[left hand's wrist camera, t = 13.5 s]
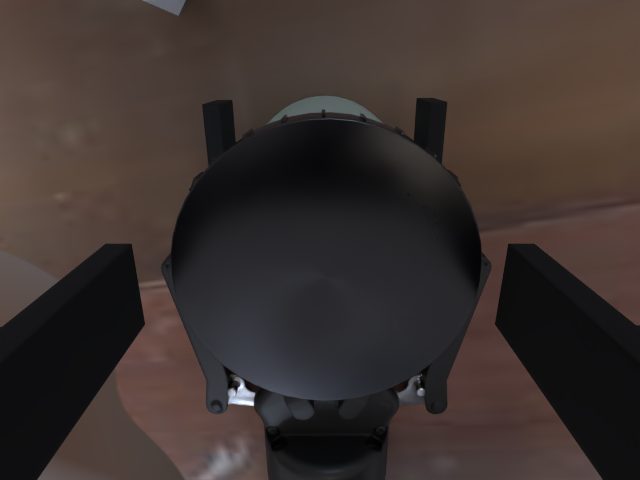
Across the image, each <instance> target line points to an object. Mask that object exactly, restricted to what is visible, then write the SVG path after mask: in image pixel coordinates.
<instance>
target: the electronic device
mask: <svg viewBox="0 0 640 480" xmlns="http://www.w3.org/2000/svg"><path fill="white" fill-rule="evenodd" d="M143 1H145V2H147V3H150V4H152V5H154V6H157V7H159V8H161V9H164V10H166V11H168V12H171V13H173V14H175V15H178V16H179V14H180V12H181V10H182V8H183V6H184V3H185V1H186V0H143Z"/></svg>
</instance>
